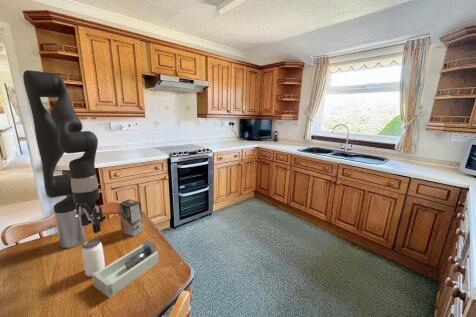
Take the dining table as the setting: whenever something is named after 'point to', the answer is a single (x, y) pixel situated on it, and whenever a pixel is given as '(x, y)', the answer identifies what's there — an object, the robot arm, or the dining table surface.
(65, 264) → the dining table surface
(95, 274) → the cradle
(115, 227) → the dining table surface
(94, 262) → the can
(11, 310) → the dining table surface
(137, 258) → the shaft
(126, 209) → the coffee box
